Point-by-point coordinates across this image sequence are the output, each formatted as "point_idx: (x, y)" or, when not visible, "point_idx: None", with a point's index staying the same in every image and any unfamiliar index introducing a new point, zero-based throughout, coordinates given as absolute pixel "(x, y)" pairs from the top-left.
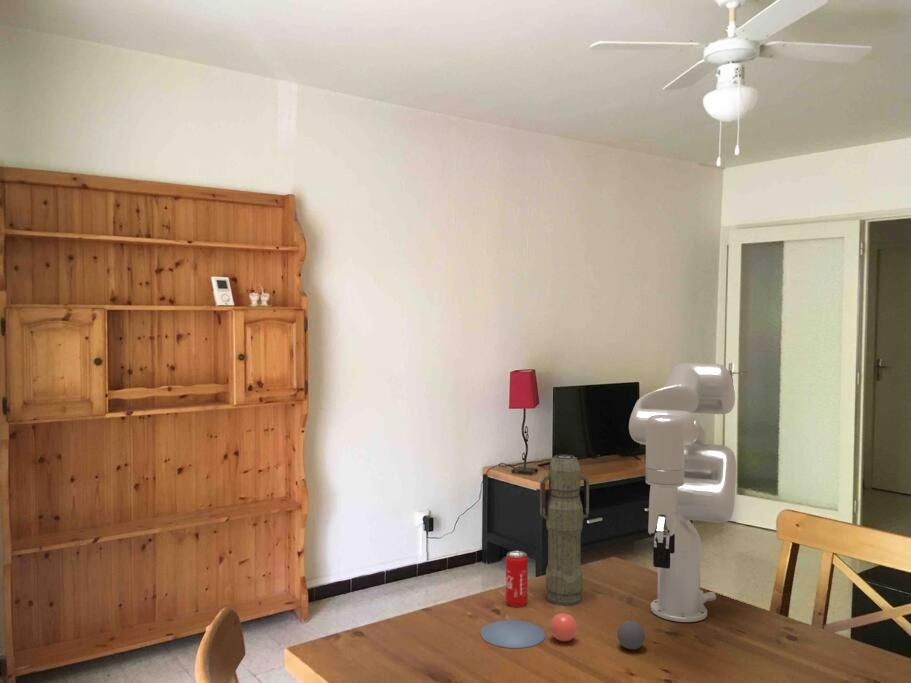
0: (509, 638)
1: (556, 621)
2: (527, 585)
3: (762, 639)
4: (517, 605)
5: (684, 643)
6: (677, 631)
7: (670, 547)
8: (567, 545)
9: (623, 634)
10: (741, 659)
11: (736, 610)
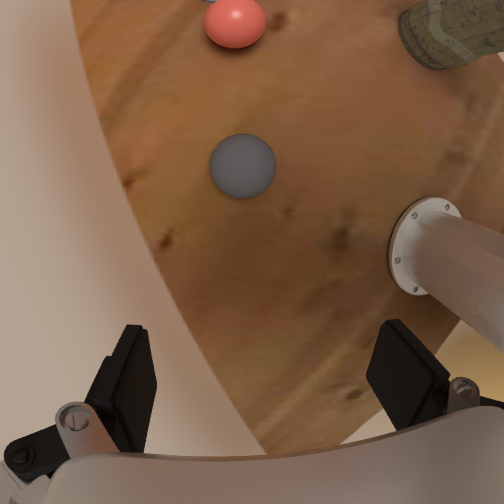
0: None
1: (215, 3)
2: None
3: (343, 369)
4: None
5: (300, 266)
6: (351, 249)
7: (379, 382)
8: (486, 5)
9: (215, 151)
10: (261, 352)
11: (435, 326)
